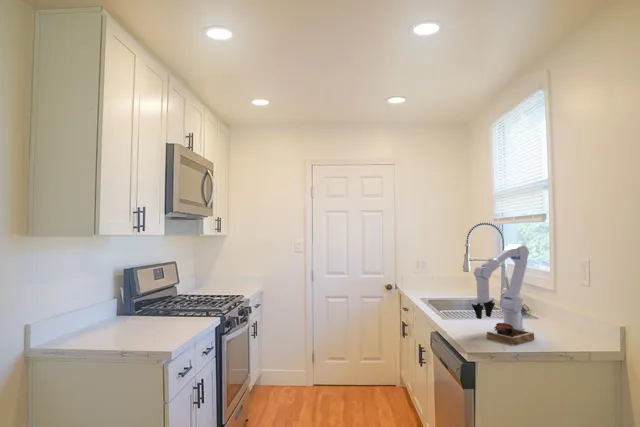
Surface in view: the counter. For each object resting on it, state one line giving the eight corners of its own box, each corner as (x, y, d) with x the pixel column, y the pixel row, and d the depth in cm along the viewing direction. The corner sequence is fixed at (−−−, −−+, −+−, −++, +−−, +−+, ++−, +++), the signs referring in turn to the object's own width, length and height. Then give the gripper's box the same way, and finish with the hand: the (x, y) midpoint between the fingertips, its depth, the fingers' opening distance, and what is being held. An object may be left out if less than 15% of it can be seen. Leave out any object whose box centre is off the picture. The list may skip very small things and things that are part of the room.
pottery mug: (488, 338, 197) (490, 322, 201) (502, 345, 200) (504, 329, 203) (508, 337, 187) (510, 320, 190) (523, 345, 189) (525, 328, 193)
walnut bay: (507, 333, 205) (507, 327, 205) (534, 339, 194) (534, 332, 194) (486, 338, 195) (486, 332, 196) (513, 345, 184) (513, 338, 184)
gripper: (484, 288, 215) (485, 314, 214) (467, 291, 207) (467, 318, 206) (497, 289, 209) (497, 316, 208) (479, 292, 201) (480, 320, 200)
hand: (483, 317), depth 207 cm, fingers open, 7 cm apart
